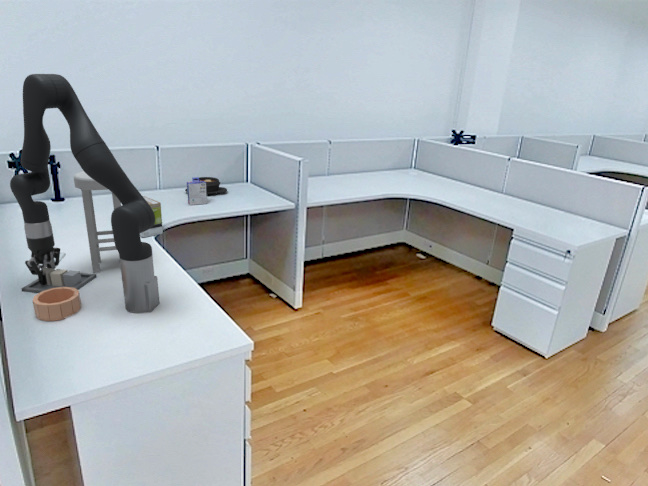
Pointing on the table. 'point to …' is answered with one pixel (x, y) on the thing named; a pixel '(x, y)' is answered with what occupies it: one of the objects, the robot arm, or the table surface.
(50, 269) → the pale grey cuboid
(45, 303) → the bowl
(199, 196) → the ink cartridge box
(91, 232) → the stool
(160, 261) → the table surface
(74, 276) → the light gray block
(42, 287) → the tray
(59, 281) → the off-white cubic block
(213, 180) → the casserole
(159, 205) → the tea box
